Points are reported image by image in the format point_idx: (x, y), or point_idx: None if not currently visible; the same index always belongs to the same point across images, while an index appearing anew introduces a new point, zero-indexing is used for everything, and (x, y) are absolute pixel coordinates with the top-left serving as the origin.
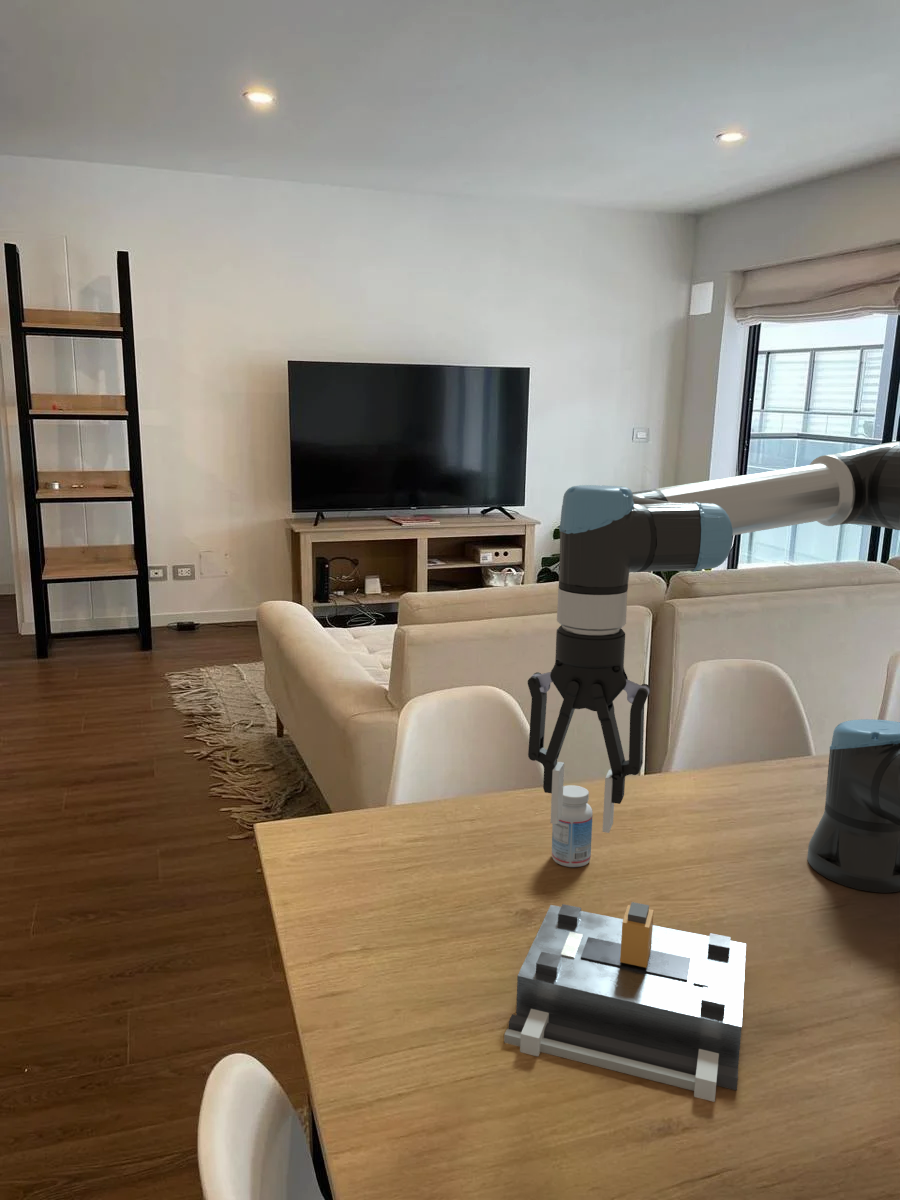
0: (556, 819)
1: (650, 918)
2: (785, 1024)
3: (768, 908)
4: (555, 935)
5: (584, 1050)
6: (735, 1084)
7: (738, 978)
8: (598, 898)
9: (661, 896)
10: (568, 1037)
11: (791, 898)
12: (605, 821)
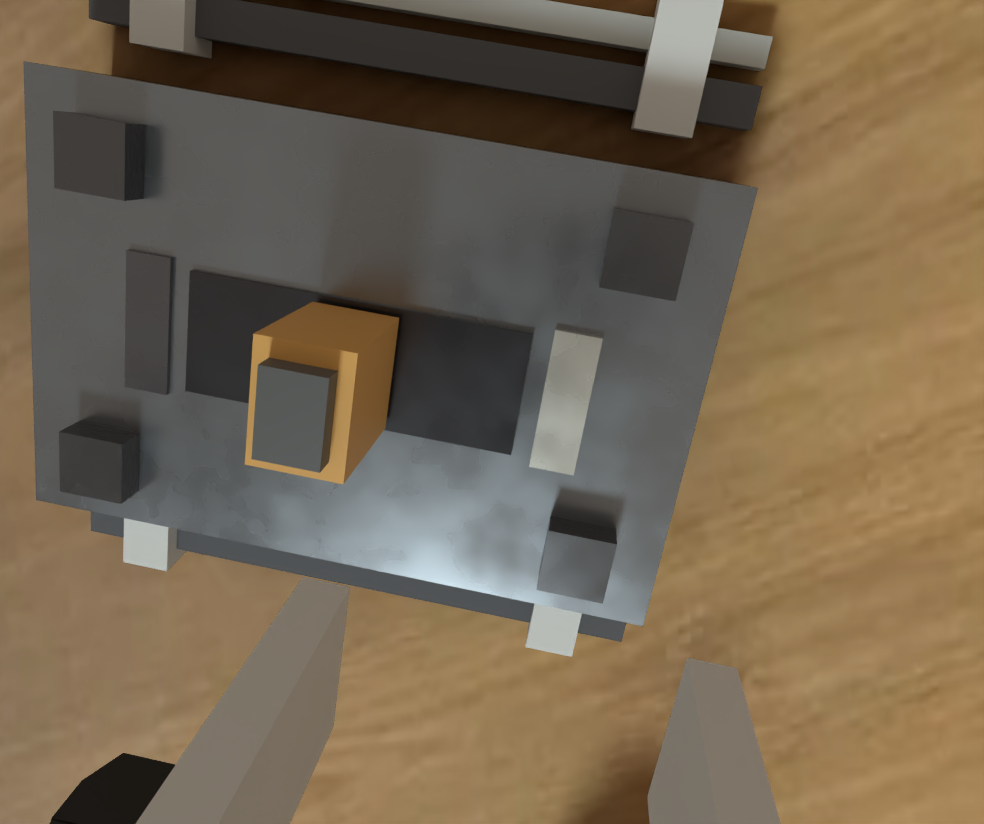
0: (696, 683)
1: (252, 401)
2: (4, 291)
3: (57, 765)
4: (623, 452)
5: (518, 17)
6: None
7: (46, 316)
8: (495, 769)
9: (323, 792)
10: (568, 56)
11: (5, 810)
12: (303, 631)
